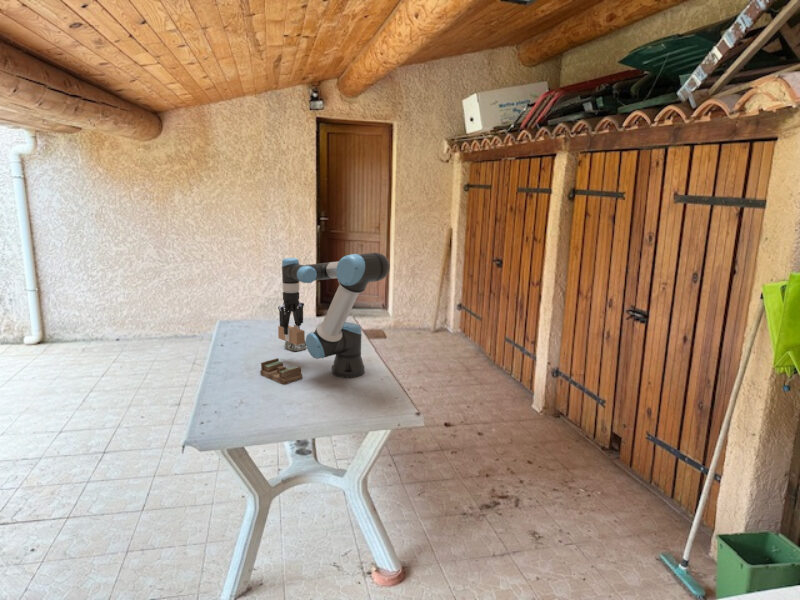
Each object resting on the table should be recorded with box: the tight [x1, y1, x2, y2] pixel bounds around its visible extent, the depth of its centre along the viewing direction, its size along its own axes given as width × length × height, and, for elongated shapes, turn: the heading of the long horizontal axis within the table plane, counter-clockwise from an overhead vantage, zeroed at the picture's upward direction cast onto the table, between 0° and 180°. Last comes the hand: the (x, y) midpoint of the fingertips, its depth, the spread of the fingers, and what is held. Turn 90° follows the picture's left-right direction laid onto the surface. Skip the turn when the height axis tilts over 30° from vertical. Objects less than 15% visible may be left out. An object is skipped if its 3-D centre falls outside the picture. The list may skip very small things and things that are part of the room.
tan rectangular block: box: [277, 325, 306, 345], centre depth 242 cm, size 14×4×6 cm, turn 50°
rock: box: [284, 340, 307, 352], centre depth 268 cm, size 13×10×10 cm
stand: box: [259, 357, 303, 386], centre depth 228 cm, size 17×10×6 cm, turn 50°
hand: (292, 339), depth 243 cm, fingers closed on tan rectangular block, 4 cm apart
